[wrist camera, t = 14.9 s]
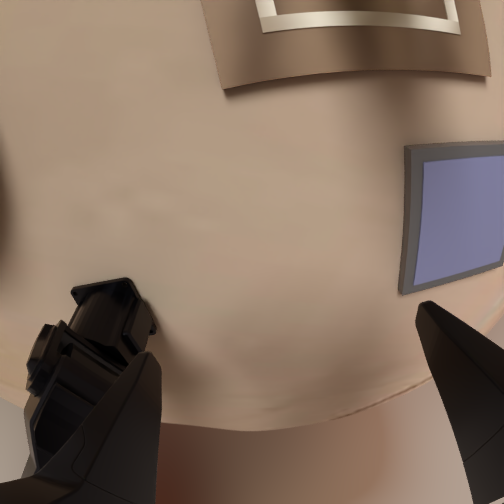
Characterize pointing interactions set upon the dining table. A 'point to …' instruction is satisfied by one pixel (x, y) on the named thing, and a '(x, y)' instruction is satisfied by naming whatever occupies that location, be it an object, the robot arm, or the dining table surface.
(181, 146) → the dining table surface
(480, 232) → the ink pad
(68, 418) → the robot arm
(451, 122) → the dining table surface
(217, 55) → the board
